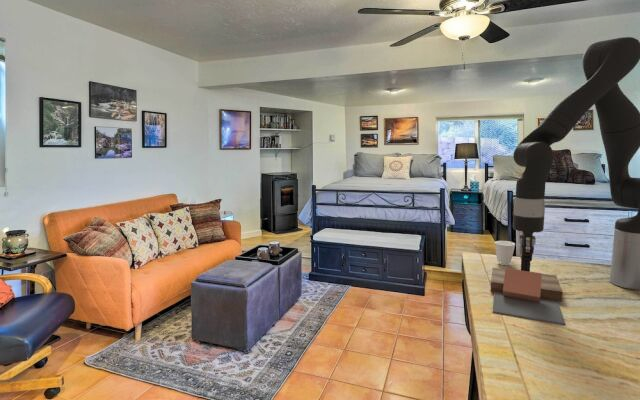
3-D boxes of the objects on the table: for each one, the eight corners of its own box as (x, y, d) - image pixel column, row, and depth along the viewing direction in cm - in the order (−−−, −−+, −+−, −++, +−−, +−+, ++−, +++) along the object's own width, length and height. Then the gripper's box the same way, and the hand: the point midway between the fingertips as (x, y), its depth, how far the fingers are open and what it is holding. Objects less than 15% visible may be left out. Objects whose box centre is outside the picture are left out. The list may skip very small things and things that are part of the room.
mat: (494, 293, 106) (494, 291, 106) (557, 302, 98) (558, 301, 98) (492, 312, 93) (492, 311, 93) (565, 325, 86) (565, 323, 86)
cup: (489, 263, 132) (490, 242, 131) (501, 258, 138) (502, 238, 137) (509, 268, 127) (511, 246, 125) (520, 262, 133) (522, 241, 132)
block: (506, 273, 106) (505, 268, 103) (541, 278, 101) (541, 273, 98) (503, 295, 103) (502, 290, 100) (539, 302, 98) (540, 297, 95)
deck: (492, 276, 119) (492, 267, 119) (555, 284, 111) (556, 275, 111) (490, 291, 107) (491, 281, 107) (561, 301, 99) (562, 291, 98)
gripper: (546, 219, 92) (542, 282, 94) (542, 210, 103) (538, 267, 106) (513, 217, 95) (510, 278, 98) (513, 208, 107) (510, 263, 109)
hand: (525, 272), depth 102 cm, fingers closed
